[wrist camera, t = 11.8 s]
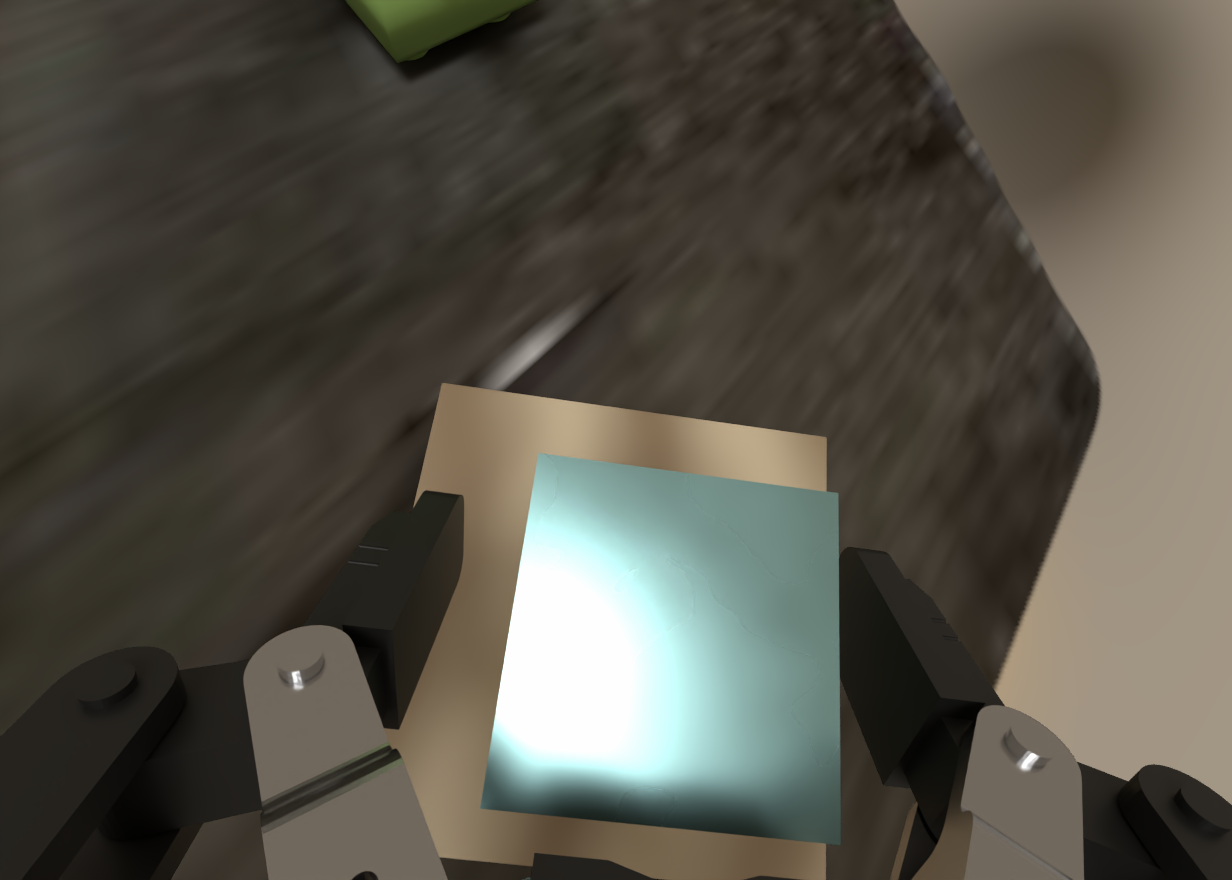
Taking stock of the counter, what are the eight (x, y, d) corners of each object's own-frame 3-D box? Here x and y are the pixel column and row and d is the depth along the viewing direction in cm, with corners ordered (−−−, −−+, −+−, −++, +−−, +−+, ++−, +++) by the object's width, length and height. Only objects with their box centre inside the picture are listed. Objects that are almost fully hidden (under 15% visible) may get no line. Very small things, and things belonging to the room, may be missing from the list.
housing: (530, 689, 16) (480, 808, 7) (553, 532, 18) (538, 452, 8) (684, 706, 17) (841, 845, 7) (695, 550, 18) (838, 493, 9)
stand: (390, 787, 20) (335, 846, 15) (467, 427, 24) (442, 383, 19) (765, 826, 20) (825, 895, 16) (775, 469, 25) (826, 437, 20)
